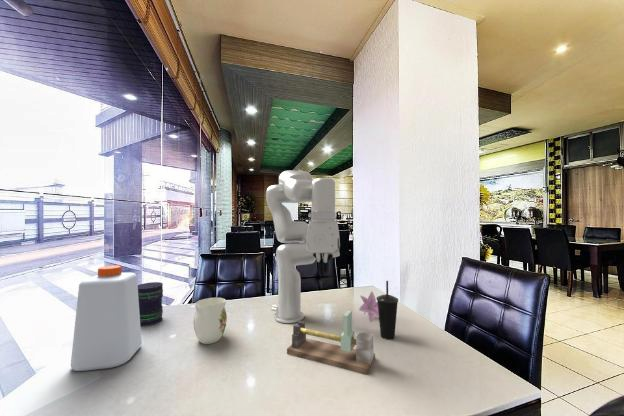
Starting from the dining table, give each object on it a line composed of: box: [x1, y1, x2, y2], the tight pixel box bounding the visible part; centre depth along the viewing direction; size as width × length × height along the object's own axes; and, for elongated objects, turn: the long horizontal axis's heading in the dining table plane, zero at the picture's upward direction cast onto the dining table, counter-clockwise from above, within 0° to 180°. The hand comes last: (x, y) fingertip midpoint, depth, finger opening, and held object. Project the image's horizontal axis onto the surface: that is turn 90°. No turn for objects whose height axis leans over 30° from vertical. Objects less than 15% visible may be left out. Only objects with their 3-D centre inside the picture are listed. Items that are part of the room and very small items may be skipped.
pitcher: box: [193, 297, 228, 345], centre depth 95 cm, size 11×18×14 cm, turn 4°
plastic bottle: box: [70, 265, 142, 372], centre depth 82 cm, size 15×15×28 cm
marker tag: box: [340, 310, 356, 352], centre depth 80 cm, size 3×4×10 cm
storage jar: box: [137, 281, 164, 327], centre depth 110 cm, size 10×10×15 cm
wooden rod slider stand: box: [286, 320, 376, 375], centre depth 83 cm, size 26×9×8 cm, turn 65°
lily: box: [358, 291, 379, 322], centre depth 114 cm, size 12×12×10 cm
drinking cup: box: [376, 280, 399, 341], centre depth 96 cm, size 8×8×20 cm
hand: (323, 274), depth 85 cm, fingers closed
